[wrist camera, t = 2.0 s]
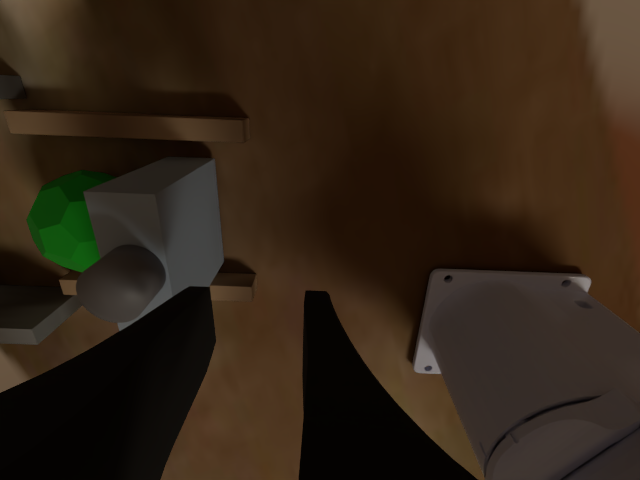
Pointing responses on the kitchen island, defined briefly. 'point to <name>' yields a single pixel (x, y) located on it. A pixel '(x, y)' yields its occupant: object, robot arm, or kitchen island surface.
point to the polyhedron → (66, 220)
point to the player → (152, 238)
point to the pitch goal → (61, 302)
